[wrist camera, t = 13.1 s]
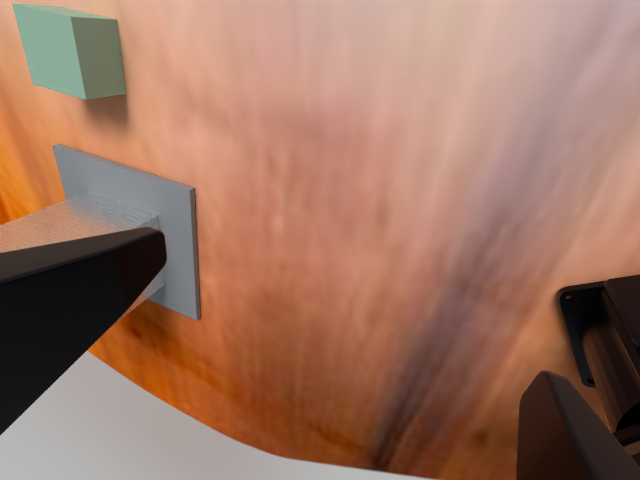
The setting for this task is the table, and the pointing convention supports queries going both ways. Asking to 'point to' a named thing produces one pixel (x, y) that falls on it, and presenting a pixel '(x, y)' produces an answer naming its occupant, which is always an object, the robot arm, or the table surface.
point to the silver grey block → (79, 227)
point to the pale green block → (71, 51)
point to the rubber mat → (152, 196)
